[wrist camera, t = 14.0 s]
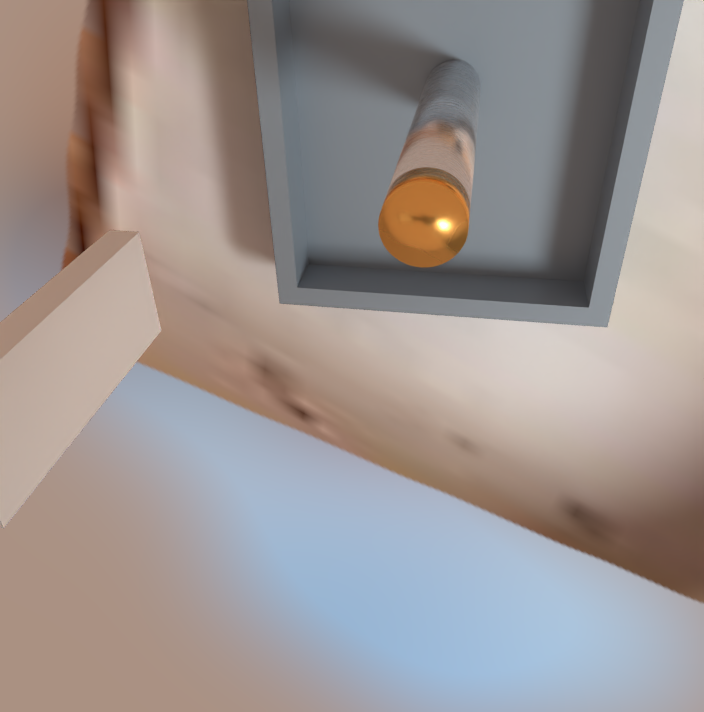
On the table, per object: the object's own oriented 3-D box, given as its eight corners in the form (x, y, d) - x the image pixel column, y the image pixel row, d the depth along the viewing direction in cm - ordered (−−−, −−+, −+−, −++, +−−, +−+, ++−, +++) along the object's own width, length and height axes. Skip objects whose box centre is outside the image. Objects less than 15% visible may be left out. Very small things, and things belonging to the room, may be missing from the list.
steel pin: (478, 118, 29) (465, 270, 18) (423, 116, 30) (378, 265, 19) (483, 59, 28) (472, 185, 17) (426, 59, 28) (377, 182, 17)
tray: (598, 290, 34) (607, 327, 31) (296, 270, 37) (279, 303, 34) (710, -226, 22) (739, -239, 20) (255, -200, 25) (224, -209, 22)
